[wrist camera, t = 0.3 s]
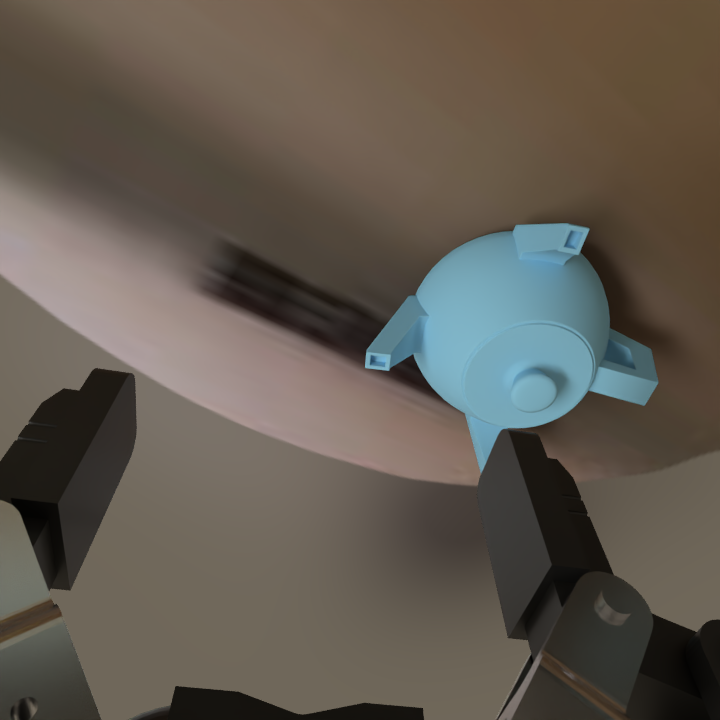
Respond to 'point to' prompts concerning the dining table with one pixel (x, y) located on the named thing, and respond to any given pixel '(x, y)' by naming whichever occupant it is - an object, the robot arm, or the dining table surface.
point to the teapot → (515, 332)
